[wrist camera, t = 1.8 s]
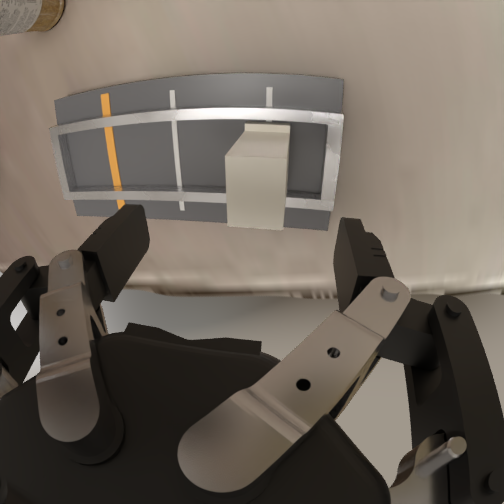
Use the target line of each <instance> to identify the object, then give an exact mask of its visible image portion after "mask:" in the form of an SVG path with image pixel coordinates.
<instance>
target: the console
mask: <svg viewBox="0 0 504 504" xmlns="http://www.w3.org/2000/svg"><path fill="white" fill-rule="evenodd" d="M343 84H344V79H339V78H330V77H321V76H310V75H297V74H278V73H220V74H201V75H188V76H177V77H168V78H159V79H152V80H145V81H138V82H132V83H126V84H120V85H115V86H110V87H105V88H100V89H96V90H91V91H87V92H83V93H79V94H75V95H71V96H67V97H64V98H61V99H57V100H54V102H55V110H56V118H57V125H56V126H53V127H51V128H49V130H50V136H51V142H52V147H53V152H54V157H55V162H56V167H57V171H58V176H59V180H60V184H61V188H62V192H63V196H64V200H73V202H74V206H75V209H76V213H77V216H103V217H112V216H113V215H114V214H115V213H116V212H117V211H118V210H119V209H120V208H121V207H122V206H123V205H125V204H141V205H142V206H143V207H144V210H145V216H146V218H149V219H169V220H187V221H204V222H220V223H227V200H226V173H225V155H226V154H227V153H228V151H229V150H230V149H231V147H232V146H233V145H234V144H235V142H236V141H237V140H238V139H239V137H240V136H241V135H242V134H243V132H244V131H245V123H246V122H247V121H255V122H279V123H290V144H289V165H288V183H287V194H286V204H285V215H284V225H283V227H289V228H302V229H313V230H325V231H328V225H329V218H330V211H333V207H334V200H335V193H336V185H337V178H338V169H339V161H340V152H341V142H342V132H343V121H344V114H343V113H342V99H343Z"/></svg>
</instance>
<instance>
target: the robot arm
mask: <svg viewBox="0 0 504 504" xmlns="http://www.w3.org/2000/svg"><path fill="white" fill-rule="evenodd" d="M149 243H150V237H149V232H148V226H147V221H146V216H145V210H144V207H143V206H142V205H141V204H125V205H123V206H122V207H121V208H120V209H119V210H118V211H117V212H116V213H115V214H114V215H113V216H112V217H110V218H108V219H107V220H105V221H104V222H103V223H102V224H101V225H100V226H99V227H98V229H96V230H95V231H94V232H93V234H91V235H90V236H89V238H88V239H87V240H86V241H85V242H84V243H83V244H82V245H81V246H80V247H79V248H78V250H67V251H64V252H62V253H60V254H58V255H57V256H55V257H54V258H53V259H52V260H51V262H50V264H49V265H48V266H41V267H38V265H37V263H36V261H35V259H34V257H32V256H25V257H22V258H19V259H18V260H16V261H15V262H13V263H12V264H11V265H10V267H9V268H8V269H7V270H6V271H5V272H4V273H3V275H2V276H1V277H0V504H502V503H503V502H504V418H503V413H502V409H501V405H500V401H499V397H498V393H497V389H496V385H495V382H494V379H493V375H492V372H491V369H490V366H489V362H488V359H487V356H486V353H485V350H484V347H483V345H482V342H481V339H480V337H479V334H478V331H477V329H476V326H475V323H474V321H473V319H472V316H471V314H470V311H469V309H468V308H467V306H466V305H465V304H464V303H463V302H462V301H461V300H459V299H458V298H456V297H453V296H450V295H441V296H439V297H437V298H436V300H435V302H434V304H433V305H431V304H427V303H424V302H421V301H417V300H415V299H412V298H411V294H410V291H409V289H408V288H407V287H406V286H405V285H404V284H403V283H402V282H400V281H399V280H397V279H395V278H394V275H393V272H392V270H391V267H390V264H389V262H388V259H387V258H386V254H385V251H383V246H382V244H381V241H380V240H379V239H378V238H377V237H376V236H375V235H374V234H373V233H370V232H365V230H364V227H363V224H362V222H361V220H360V219H355V218H345V217H342V218H341V220H340V224H339V229H338V235H337V240H336V245H335V251H334V261H333V264H334V273H335V280H336V287H337V294H338V302H339V310H340V311H338V310H335V311H334V312H332V313H331V314H330V315H329V316H328V317H327V318H326V319H325V320H324V321H323V322H322V323H321V324H320V325H319V326H318V327H317V328H316V329H315V330H314V331H313V332H312V333H311V334H310V335H309V336H308V337H306V338H305V339H304V341H302V342H301V343H300V344H299V345H298V346H297V347H296V348H295V349H294V350H293V351H292V352H290V353H289V354H288V355H287V356H286V357H285V358H284V359H283V360H282V361H280V360H278V359H277V358H275V357H273V356H271V355H269V354H266V353H263V352H261V343H262V342H261V341H253V340H243V339H234V338H214V339H200V340H187V339H184V338H182V337H179V336H176V335H174V334H172V333H169V332H167V331H165V330H162V329H160V328H156V327H151V326H145V325H140V324H135V323H128V325H127V328H126V329H125V331H124V332H119V333H112V334H108V330H107V325H106V321H105V317H104V312H103V308H102V306H101V302H102V300H105V301H110V302H115V300H116V299H117V297H118V295H119V293H120V292H121V291H122V289H123V287H124V286H125V284H126V283H127V281H128V279H129V278H130V276H131V275H132V273H133V272H134V270H135V269H136V267H137V266H138V264H139V262H140V261H141V259H142V258H143V256H144V255H145V253H146V252H147V250H148V248H149ZM20 300H21V301H22V303H23V305H24V306H25V308H26V310H27V314H26V315H25V317H24V318H23V320H22V321H21V323H20V325H19V326H18V328H17V329H16V331H15V330H14V328H13V327H12V325H11V322H10V316H11V313H12V311H13V310H14V308H15V307H16V306H17V304H18V303H19V301H20ZM39 351H40V365H41V370H40V372H39V373H38V374H37V375H36V376H34V377H32V378H31V379H29V380H27V381H26V382H24V383H23V381H24V379H25V377H26V375H27V373H28V371H29V370H30V368H31V366H32V364H33V362H34V360H35V358H36V356H37V355H38V352H39ZM382 357H383V358H386V359H389V360H393V361H397V362H400V363H403V364H404V370H405V378H406V385H407V393H408V401H409V411H410V422H411V435H412V450H411V451H409V452H408V453H407V454H406V455H405V456H404V457H403V458H402V459H401V461H400V463H399V466H398V471H397V476H396V479H395V481H394V483H393V484H392V485H391V487H390V488H388V486H387V484H386V482H385V480H384V478H383V477H382V475H381V474H380V473H379V472H378V471H377V469H376V468H375V467H374V466H373V465H372V464H371V463H370V462H369V460H368V459H367V458H366V457H365V456H364V455H363V453H361V451H360V450H359V449H358V448H357V447H356V445H355V444H354V443H353V442H352V441H351V439H350V438H349V437H348V436H347V435H346V433H345V432H344V431H343V430H342V429H341V427H340V426H339V425H338V424H337V423H336V421H335V420H336V419H337V418H338V417H339V416H340V414H341V413H342V412H343V411H344V409H345V408H346V406H347V405H348V404H349V402H350V401H351V399H352V398H353V397H354V395H355V394H356V392H357V391H358V390H359V388H360V387H361V386H362V384H363V383H364V382H365V380H366V379H367V378H368V376H369V375H370V373H371V372H372V371H373V369H374V368H375V366H376V365H377V364H378V362H379V360H380V359H381V358H382ZM22 383H23V384H22Z"/></svg>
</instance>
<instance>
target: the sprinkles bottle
mask: <svg viewBox="0 0 504 504" xmlns="http://www.w3.org/2000/svg"><path fill="white" fill-rule="evenodd" d="M63 8H64V0H0V36H2V35H9V34H17V33H23V32H30V31H40V32H42V31H47V30H49V29H51V28H52V27H53V26H54V25H55V24H56V23H57V22H58V20H59V18H60V17H61V15H62V12H63Z"/></svg>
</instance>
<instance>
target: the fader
mask: <svg viewBox="0 0 504 504" xmlns="http://www.w3.org/2000/svg"><path fill="white" fill-rule="evenodd" d="M289 144H290V123H279V122H255V121H247V122H246V123H245V131H244V132H243V134H242V135H241V136H240V137H239V139H238V140H237V141H236V142H235V144H234V145H233V146H232V147H231V149H230V150H229V151H228V153H227V154H226V155H225V173H226V200H227V224H228V227H242V228H255V229H269V230H281V231H283V225H284V215H285V204H286V194H287V183H288V165H289Z"/></svg>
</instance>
